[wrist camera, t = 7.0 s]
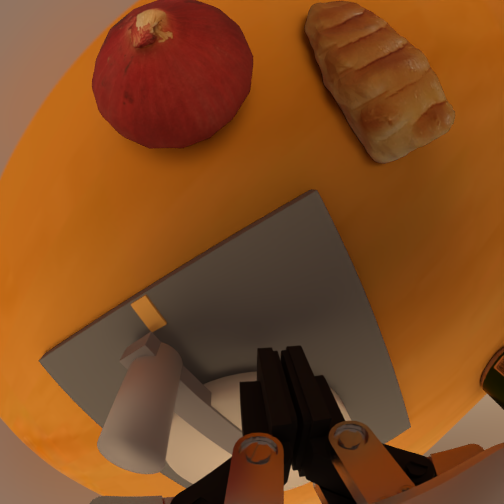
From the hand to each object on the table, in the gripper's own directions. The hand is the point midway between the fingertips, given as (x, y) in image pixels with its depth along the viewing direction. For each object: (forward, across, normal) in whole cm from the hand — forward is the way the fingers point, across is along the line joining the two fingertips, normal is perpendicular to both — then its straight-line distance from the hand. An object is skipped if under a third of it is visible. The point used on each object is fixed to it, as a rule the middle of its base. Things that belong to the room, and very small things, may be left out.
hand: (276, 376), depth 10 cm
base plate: (+5, +1, +8) cm, 9 cm away
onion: (+5, +4, -11) cm, 13 cm away
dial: (+4, +2, +7) cm, 8 cm away
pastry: (+5, -6, -13) cm, 15 cm away
